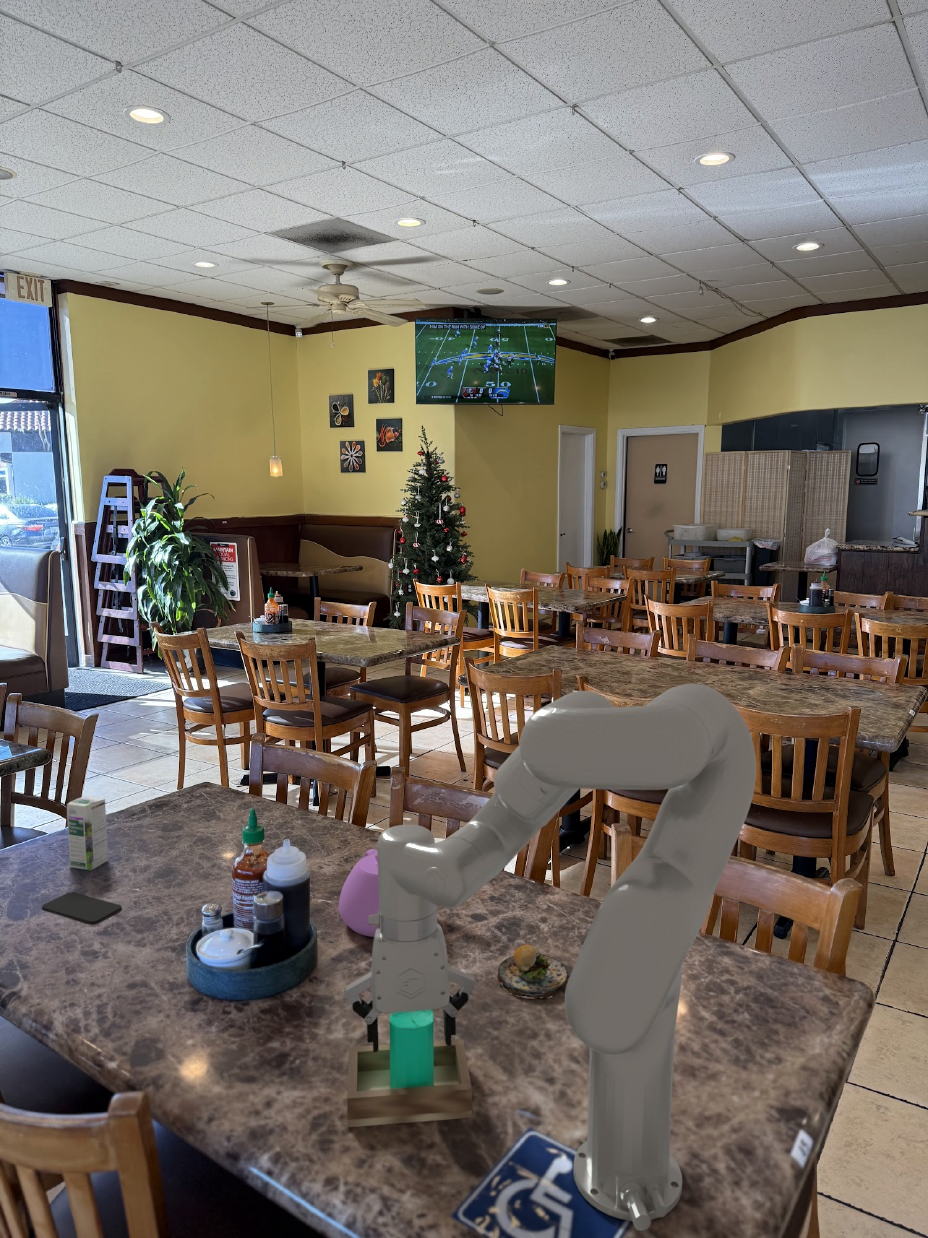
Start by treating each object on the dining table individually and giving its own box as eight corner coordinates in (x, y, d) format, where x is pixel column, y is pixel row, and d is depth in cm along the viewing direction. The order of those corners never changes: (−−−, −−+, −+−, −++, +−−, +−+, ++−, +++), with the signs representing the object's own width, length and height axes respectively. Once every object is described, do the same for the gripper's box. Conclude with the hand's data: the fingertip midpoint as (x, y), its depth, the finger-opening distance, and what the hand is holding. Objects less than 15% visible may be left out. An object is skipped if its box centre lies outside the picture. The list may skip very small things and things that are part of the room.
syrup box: (68, 868, 185) (64, 804, 183) (88, 857, 191) (84, 795, 189) (90, 871, 183) (86, 806, 181) (109, 860, 189) (106, 797, 187)
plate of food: (564, 1005, 136) (565, 961, 135) (491, 997, 138) (492, 953, 137) (570, 965, 148) (571, 925, 146) (503, 958, 150) (503, 918, 149)
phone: (70, 891, 174) (124, 906, 167) (71, 895, 174) (124, 910, 167) (38, 906, 167) (93, 922, 160) (39, 910, 167) (93, 927, 160)
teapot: (470, 936, 157) (470, 865, 155) (355, 959, 149) (353, 884, 147) (430, 886, 177) (430, 822, 175) (327, 904, 169) (325, 837, 167)
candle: (411, 1067, 119) (411, 987, 118) (443, 1087, 115) (443, 1005, 114) (380, 1089, 115) (379, 1007, 113) (411, 1110, 111) (411, 1025, 109)
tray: (462, 1062, 122) (462, 1038, 121) (472, 1117, 111) (472, 1091, 110) (349, 1070, 120) (348, 1045, 119) (347, 1127, 109) (347, 1100, 108)
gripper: (340, 940, 107) (345, 1066, 109) (477, 930, 109) (479, 1054, 111) (342, 912, 115) (347, 1031, 117) (470, 903, 116) (472, 1020, 119)
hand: (411, 1042), depth 114 cm, fingers open, 9 cm apart
